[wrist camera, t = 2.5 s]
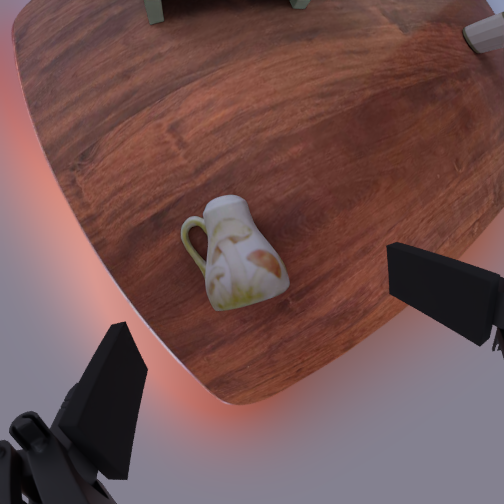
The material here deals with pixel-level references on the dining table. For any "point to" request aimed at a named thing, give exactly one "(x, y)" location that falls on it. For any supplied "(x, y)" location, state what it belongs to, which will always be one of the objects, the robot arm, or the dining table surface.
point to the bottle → (486, 34)
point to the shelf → (156, 13)
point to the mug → (235, 256)
